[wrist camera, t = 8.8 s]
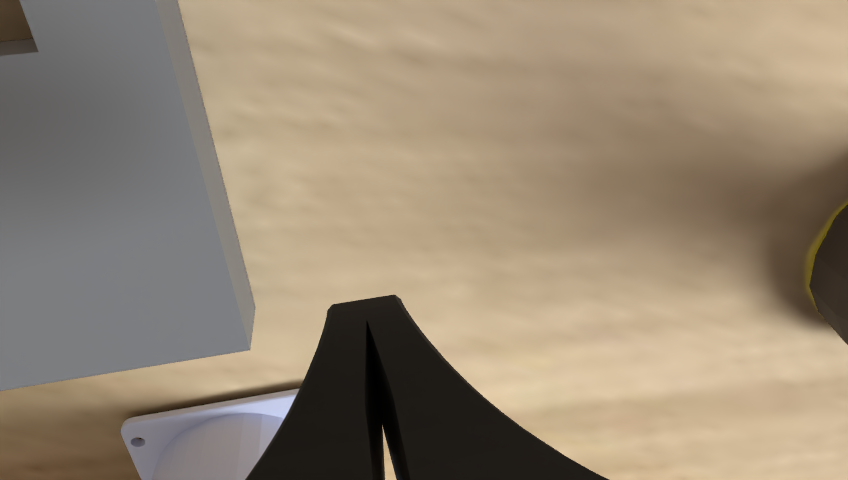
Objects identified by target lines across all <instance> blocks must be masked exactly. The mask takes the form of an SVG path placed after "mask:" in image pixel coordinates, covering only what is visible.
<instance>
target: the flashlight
mask: <svg viewBox="0 0 848 480" xmlns="http://www.w3.org/2000/svg"><path fill="white" fill-rule="evenodd" d="M810 289H811V292H812V295H813V298H814V301H815V304H816V307H817V309H818V312H819V313H820V314H821V315H822V316H823V317H824V319H825V320H826V321H827V322H828V323H829V324H830V325H831V327H832V328H833V329H834V330H835V331H836V332H837V333H838V335H839V336H840V337H841V338H842V339H843V340H844V341H845V343H847V344H848V205H847V206H846V207H845V208H844V209H843V210H842V211H841V212H840V213H839V214H838V215H837V216H836V218H835V220H834V222H833V224H832V226H831V227H830V229H829V231H828V233H827V235H826V237H825V239H824V241H823V242H822V244H821V246H820V248H819V250H818V252H817V254H816V257H815V262H814V267H813V272H812V277H811V282H810Z"/></svg>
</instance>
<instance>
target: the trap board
mask: <svg viewBox="0 0 848 480" xmlns="http://www.w3.org/2000/svg"><path fill="white" fill-rule="evenodd" d="M19 1H20V4H21V6H22V9H23V12H24V14H25V17H26V19H27V22H28V25H29V27H30V30H31V33H32V35H33V39H23V40H13V41H2V42H0V391H3V390H9V389H15V388H21V387H27V386H33V385H39V384H46V383H52V382H58V381H64V380H70V379H76V378H82V377H88V376H95V375H101V374H107V373H113V372H119V371H125V370H131V369H137V368H144V367H150V366H156V365H162V364H168V363H174V362H180V361H186V360H193V359H199V358H205V357H211V356H217V355H223V354H229V353H235V352H241V351H248V350H250V347H251V339H252V331H253V323H254V315H255V304H254V300H253V296H252V292H251V288H250V284H249V280H248V276H247V272H246V268H245V264H244V260H243V256H242V253H241V249H240V245H239V241H238V237H237V233H236V229H235V225H234V221H233V217H232V213H231V209H230V205H229V201H228V198H227V194H226V190H225V186H224V182H223V178H222V174H221V170H220V166H219V162H218V158H217V154H216V150H215V146H214V143H213V139H212V135H211V131H210V127H209V123H208V119H207V115H206V111H205V107H204V103H203V99H202V95H201V91H200V88H199V84H198V80H197V76H196V72H195V68H194V64H193V60H192V56H191V52H190V48H189V44H188V40H187V36H186V33H185V29H184V25H183V21H182V17H181V13H180V9H179V5H178V1H177V0H19Z"/></svg>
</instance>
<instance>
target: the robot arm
mask: <svg viewBox="0 0 848 480" xmlns="http://www.w3.org/2000/svg"><path fill="white" fill-rule="evenodd" d="M382 425H383V429H384V433H385V437H386V441H387V444H388V448H389V452H390V456H391V460H392V464H393V468H394V471H395V475H396V479H397V480H609V479H607V478H604V477H602V476H600V475H598V474H596V473H594V472H593V471H591V470H589V469H587V468H585V467H584V466H582V465H580V464H578V463H576V462H575V461H573V460H571V459H569V458H568V457H566V456H564V455H563V454H561V453H560V452H558V451H557V450H555V449H554V448H552V447H551V446H549V445H548V444H546V443H545V442H543V441H542V440H540V439H538V438H537V437H535V436H534V435H532V434H531V433H529V432H528V431H526V430H525V429H523V428H522V427H521V426H519V425H518V424H517V423H515V422H514V421H513V420H512V419H510V418H509V417H508V416H506V415H505V414H504V413H502V412H501V411H500V410H499V409H497V408H496V407H495V406H494V405H493V404H491V403H490V402H489V401H488V400H487V399H485V398H484V397H483V396H482V395H481V394H480V393H479V392H478V391H476V390H475V389H474V388H473V387H472V386H471V385H470V384H469V383H468V382H467V381H466V380H465V379H464V378H463V377H462V376H461V375H460V374H459V373H458V372H457V371H456V370H455V369H454V368H453V367H452V366H451V365H450V364H449V363H448V362H447V361H446V360H445V359H444V357H443V356H442V355H441V354H440V353H439V352H438V350H437V349H436V348H435V347H434V346H433V345H432V344H431V342H430V341H429V340H428V339H427V338H426V336H425V335H424V334H423V333H422V331H421V330H420V329H419V327H418V326H417V324H416V323H415V322H414V320H413V319H412V318H411V316H410V315H409V313H408V311H407V310H406V308H405V307H404V305H403V303H402V301H401V299H400V298H399V297H397V296H396V295H389V296H383V297H376V298H370V299H364V300H358V301H351V302H345V303H339V304H333V305H332V306H331V307H330V308H329V309H328V311H327V317H326V321H325V325H324V329H323V332H322V335H321V338H320V341H319V344H318V347H317V350H316V352H315V355H314V357H313V360H312V362H311V364H310V367H309V369H308V372H307V374H306V376H305V379H304V381H303V383H302V385H301V387H300V388H299V389H293V390H287V391H282V392H276V393H270V394H264V395H258V396H253V397H247V398H241V399H235V400H230V401H224V402H218V403H212V404H206V405H201V406H195V407H189V408H183V409H177V410H172V411H166V412H160V413H154V414H148V415H143V416H137V417H132V418H129V419H127V420H125V421H124V423H123V425H122V428H121V430H120V432H121V436H122V438H123V440H124V443H125V445H126V447H127V449H128V452H129V454H130V456H131V458H132V461H133V463H134V465H135V467H136V469H137V472H138V474H139V476H140V478H141V480H385V471H384V450H383V429H382ZM136 437H140V438H142V439H136Z"/></svg>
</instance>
